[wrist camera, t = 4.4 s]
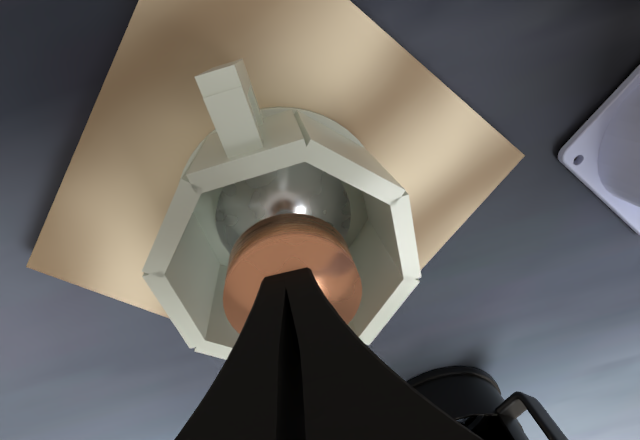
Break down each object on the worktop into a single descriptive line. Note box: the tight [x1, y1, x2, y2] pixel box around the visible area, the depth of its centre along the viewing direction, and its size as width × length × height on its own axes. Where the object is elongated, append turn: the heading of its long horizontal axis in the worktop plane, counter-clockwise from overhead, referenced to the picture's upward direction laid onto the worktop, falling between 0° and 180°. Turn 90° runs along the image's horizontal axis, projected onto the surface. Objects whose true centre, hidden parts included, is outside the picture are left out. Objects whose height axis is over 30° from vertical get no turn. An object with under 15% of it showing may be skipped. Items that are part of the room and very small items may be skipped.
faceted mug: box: [142, 59, 421, 360], centre depth 13 cm, size 11×9×5 cm
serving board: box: [26, 0, 525, 318], centre depth 16 cm, size 16×16×1 cm
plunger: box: [215, 162, 362, 334], centre depth 12 cm, size 6×6×6 cm
